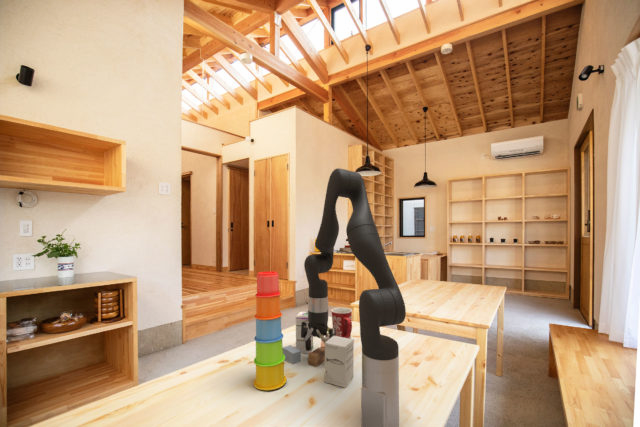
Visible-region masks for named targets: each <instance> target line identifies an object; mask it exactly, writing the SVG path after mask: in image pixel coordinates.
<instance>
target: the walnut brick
mask: <svg viewBox="0 0 640 427" xmlns="http://www.w3.org/2000/svg"><path fill="white" fill-rule="evenodd" d="M324 363H325V349H324V348H320V347H317V348H316V349H314V350H312V351H311V352H310V353H309V354H307V365H308V366H310V367H314V368H317V367H319V366H320V365H322V364H324Z"/></svg>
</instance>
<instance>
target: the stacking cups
mask: <svg viewBox="0 0 640 427" xmlns="http://www.w3.org/2000/svg"><path fill="white" fill-rule="evenodd" d="M280 296H281V292H280V279H279V273H278V272H277V271H276V270H275V271H260V272H257V275H256V293H255V297H256V298H255V300H256V301H255V302H256V306H255V307H256V310H255V311H256V312H255V313H256V314H255V315H254V318H255V336H254V338H253V340H254V341H255V357H254V359H253V364H254V365H255V379H254V381H253V387H254V388H256V389H258V390H259V391H266V392H267V391H275V390H279V389H280V388H282V387H283V386H284V385H286V383H287V379H288V378H287V376H286V375H285V361H286V360H285V355H284V354H283V347H284V346H283V338H284V334H283V333H282V332H283V331H282V316H283V313H282V312H281V302H280V300H281V297H280Z"/></svg>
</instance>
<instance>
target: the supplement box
mask: <svg viewBox="0 0 640 427" xmlns="http://www.w3.org/2000/svg"><path fill="white" fill-rule="evenodd" d="M354 341H355V340H354V339H353V338H351V339H349V338H344V337H339V336H333V337H331V338H330V339H329V340H328V341H326V342H325V362H324V383H326V384H331V385H335V386H338V387H341V388H344V389H345V388H347V386H348V385H349V384H350V382H351V381H352V380H353V378H354V347H355V346H354V343H355V342H354Z"/></svg>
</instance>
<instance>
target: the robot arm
mask: <svg viewBox="0 0 640 427" xmlns="http://www.w3.org/2000/svg"><path fill="white" fill-rule="evenodd" d="M328 178H329V179H328V181H327V186H326V191H325V192H326V193H325V198H324V205H323V211H322V216H321V217H322V218H321V223H320V226H319V229H318V233H317V236H316V239H315V242H314V247H315V248H316V250H317V251H319V252H320V253H317V254H310V255H308V256H306V258H305V260H304V263H303V268H304V271H305V275H306V280H307V284H308V300H307V312H308V321H307V320H306V321H303V322H302V324H301V337H302V338H304V339H305V348H306V351H309V350H311V337H312V336H313V338H315V337H316V338H318V339H320V341H321V340H322V341H323V342H324V344H325V342H326V341H328V340H329V339H330V338H331V337H333V336H336V330H335V328H334V327H333V326H332V327H329V325H328V323H329V298H328V297H329V294H328V290H329V289H328V287H329V284H328V281H327V280H326V279H322V278H321V279H320V275H319V274H325V273H328V272H329V271H330V270H331V269H332V268H333V265H334V255H335V254H334V253H335V252H334V249H335V245H336V242H337V240H338V237H339V232H340V225H339V219H338V216H337V208H336V207H337V202H338V199H339V197H341V198H347V199H349V201H350V202H351V207H352V213H351V215H350V217H349V220H348V222H347V225H346V228H345V229H346V230H345V232H346V237H347V242H348V245H349V248H350V251H351V253H352V254H353V256H354V257H355V258H356V260H358V262H360V264H361V265H362V266H364V267H365V268H366V269H367V271H368V272H369V273H370V274H371V275H372V277H373V279H374V281H375V282H376V285H377V287H378V288H374V289H371V288H369V289H365V290H362V291H361V293H360V296H359V300H358V312H359V313H358V315H359V334H360V343H361V394H360V397H361V398H360V399H361V402H360V403H361V413H360V414H361V427H400V374H399V373H400V370H399V367H400V365H399V364H400V363H399V362H400V361H399V358H400V357H399V354H400V353H399V352H400V351H399V350H400V349H399V348H400V347H399V343H398V342H397V341H396V340H395V339H394V338H392V337H390V336H388V335H384V334H381V329H380V328H381V327H389V326H396V325H400V324H403V323H404V321H405V319H406V315H407V313H406V312H407V309H406V305H405V300H404V297H403V294H402V292H401V290H400V288H399V285H398V283H397V281H396V278H395V276H394V273H393V271H392V269H391V267H390V264H389V262H388V259H387V256H386V254H385V251H384V248H383V244H382V241H381V236H380V234H379V231H378V228H377V225H376V223H375V220H374V217H373V214H372V210H371V206H370V203H369V199H368V194H367V189H366V184H365V180H364V178H363V176H362V174H360V173H359V172H356V171H354V170H348V169H344V168H339V167H338V168H335V169H333V170H332V171H331V173H330V176H329V177H328ZM308 328H309V330H310V331H309V332H308V333H307V331H308Z"/></svg>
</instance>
